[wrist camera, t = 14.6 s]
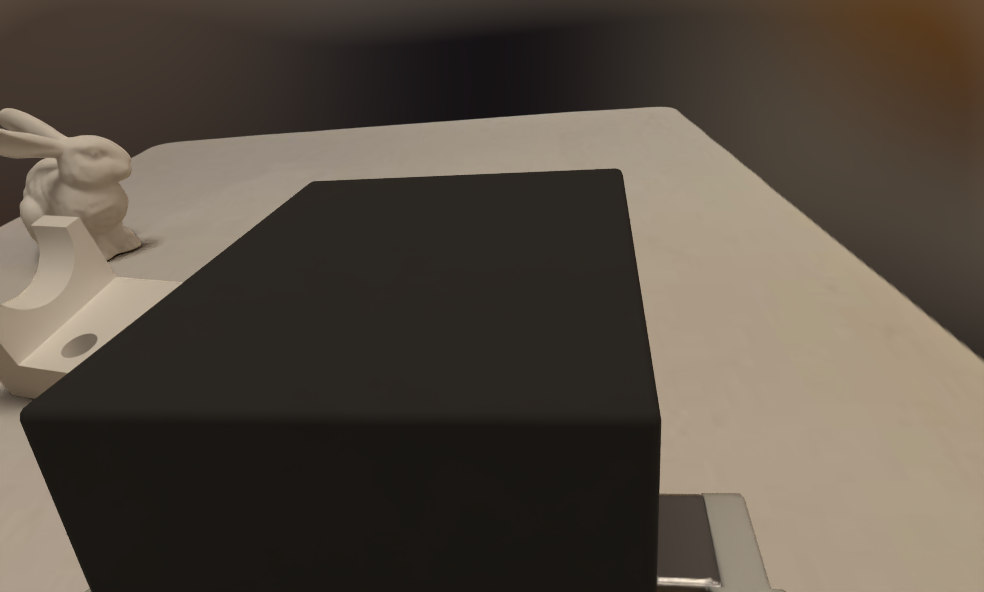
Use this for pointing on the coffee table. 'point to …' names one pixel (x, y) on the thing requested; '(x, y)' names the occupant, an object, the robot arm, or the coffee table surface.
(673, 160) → the coffee table surface
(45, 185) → the rabbit
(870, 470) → the coffee table surface
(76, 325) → the bracket
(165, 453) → the pad block
